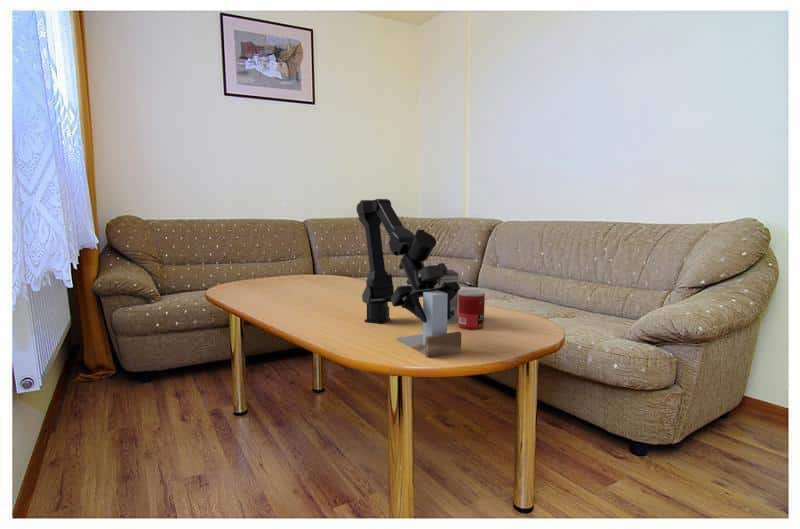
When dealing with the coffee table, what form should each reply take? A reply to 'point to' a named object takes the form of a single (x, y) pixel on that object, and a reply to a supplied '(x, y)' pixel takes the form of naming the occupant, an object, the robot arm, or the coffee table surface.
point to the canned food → (471, 309)
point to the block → (434, 313)
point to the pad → (411, 339)
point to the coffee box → (454, 302)
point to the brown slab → (440, 344)
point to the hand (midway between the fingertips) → (437, 320)
